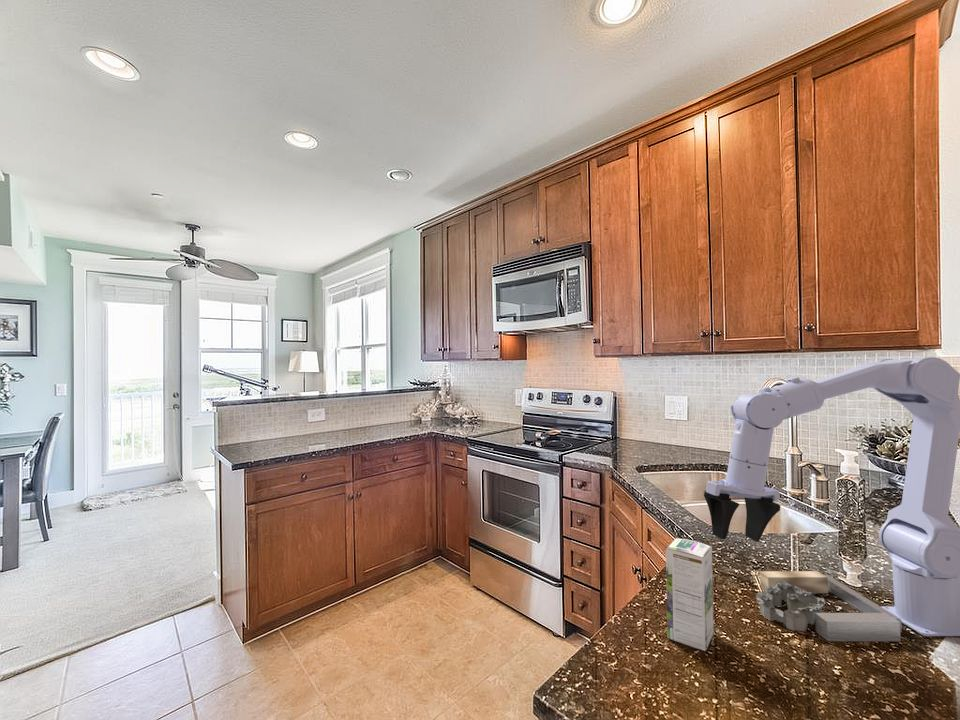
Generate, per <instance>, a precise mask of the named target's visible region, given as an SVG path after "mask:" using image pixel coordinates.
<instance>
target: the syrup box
mask: <svg viewBox="0 0 960 720" xmlns="http://www.w3.org/2000/svg"><path fill="white" fill-rule="evenodd" d="M712 553H713V547H712V546H711V545H708V544H705V543H702V542H698V541H695V540H691V539H686V538H678V537H677V538H675V539H674V540H673V541H672V542H671V544H669V545H668V547H666V549H665V574H666V576H665V577H666V579H665V580H666V582H665V583H666V584H665V585H666V586H665V587H666V626H667V627H666V633H667V634H666V636H667V638H668V639H669V640H672V641H673V642H678V643H680V644H683V645H686V646H687V647H688V646H689V647H692V648H694V649H698V650H701V651H704V652H707V651H708V648H709V646H710V643H711V641H712V638H713V637H714V636H715V635H714V633H715V621H714V579H713V577H714V576H713V554H712Z"/></svg>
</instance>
